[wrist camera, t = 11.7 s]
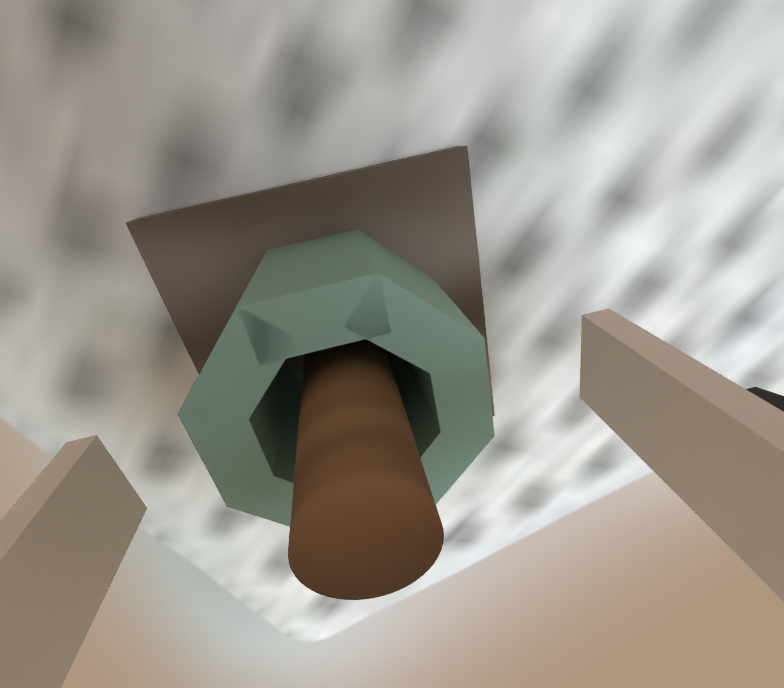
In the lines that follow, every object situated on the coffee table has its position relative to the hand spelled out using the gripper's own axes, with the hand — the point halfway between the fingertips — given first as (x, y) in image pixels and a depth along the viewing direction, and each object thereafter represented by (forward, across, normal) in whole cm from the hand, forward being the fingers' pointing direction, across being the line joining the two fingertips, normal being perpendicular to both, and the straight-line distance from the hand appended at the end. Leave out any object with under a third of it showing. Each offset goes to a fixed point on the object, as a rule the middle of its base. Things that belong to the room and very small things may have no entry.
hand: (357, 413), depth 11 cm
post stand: (+7, 0, 0) cm, 7 cm away
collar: (+6, 0, 0) cm, 6 cm away
